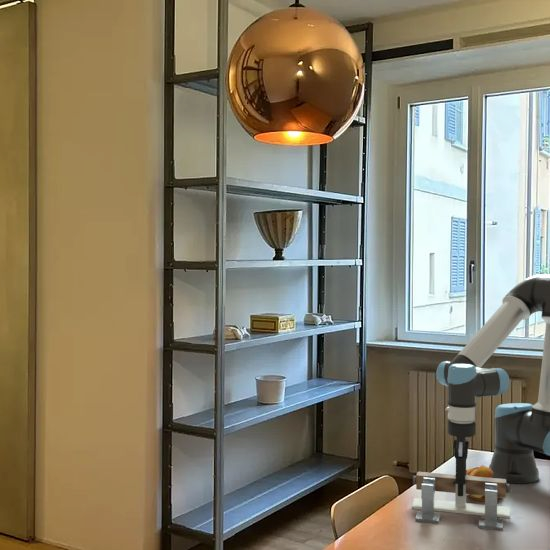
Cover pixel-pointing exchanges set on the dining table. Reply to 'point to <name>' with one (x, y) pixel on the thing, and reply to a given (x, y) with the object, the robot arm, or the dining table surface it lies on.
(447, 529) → the dining table surface
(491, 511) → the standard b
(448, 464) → the dining table surface
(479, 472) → the cheeseburger
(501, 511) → the white plank
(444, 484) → the rail
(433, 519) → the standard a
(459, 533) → the dining table surface
